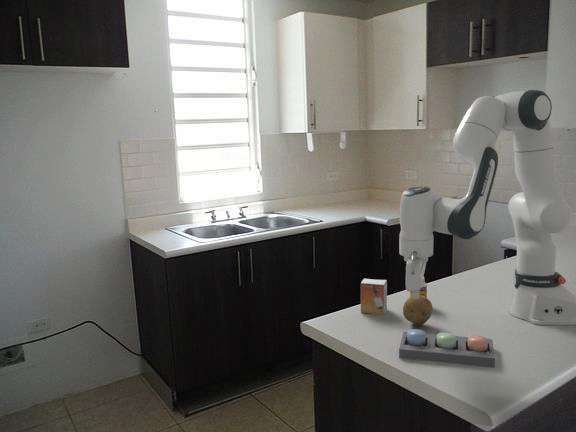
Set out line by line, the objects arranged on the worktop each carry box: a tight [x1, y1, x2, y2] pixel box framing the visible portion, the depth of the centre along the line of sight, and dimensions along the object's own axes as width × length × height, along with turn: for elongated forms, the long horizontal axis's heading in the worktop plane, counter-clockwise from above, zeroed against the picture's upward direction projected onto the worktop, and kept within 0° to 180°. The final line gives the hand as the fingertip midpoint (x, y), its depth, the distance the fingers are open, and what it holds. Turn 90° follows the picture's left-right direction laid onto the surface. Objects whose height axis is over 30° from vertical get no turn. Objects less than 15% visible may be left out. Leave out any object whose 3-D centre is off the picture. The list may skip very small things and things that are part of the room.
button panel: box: [398, 331, 496, 368], centre depth 138 cm, size 24×12×2 cm, turn 71°
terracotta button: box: [467, 334, 489, 353], centre depth 135 cm, size 5×5×3 cm
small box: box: [360, 278, 388, 316], centre depth 170 cm, size 8×6×10 cm
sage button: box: [436, 332, 457, 350], centre depth 137 cm, size 5×5×3 cm
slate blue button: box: [406, 328, 427, 347], centre depth 140 cm, size 5×5×3 cm
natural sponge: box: [402, 295, 434, 327], centre depth 156 cm, size 9×9×10 cm
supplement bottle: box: [409, 276, 428, 299], centre depth 173 cm, size 6×6×10 cm
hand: (415, 297), depth 138 cm, fingers closed
